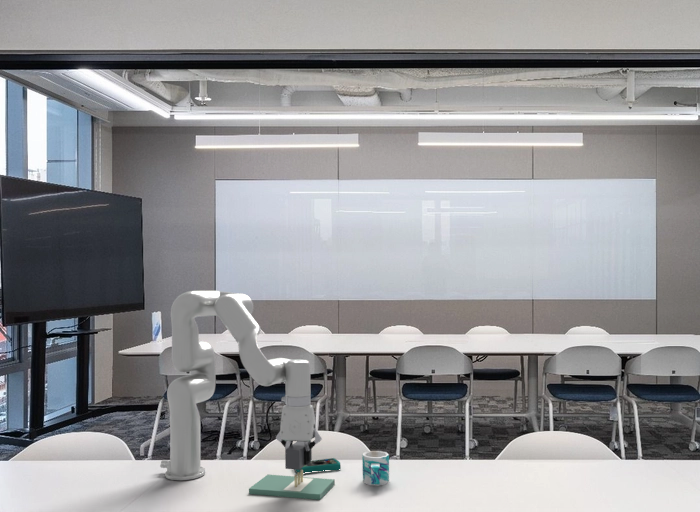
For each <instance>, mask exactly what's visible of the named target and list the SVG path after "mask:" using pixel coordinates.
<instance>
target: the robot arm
mask: <svg viewBox="0 0 700 512" xmlns="http://www.w3.org/2000/svg"><path fill="white" fill-rule="evenodd" d="M253 312H254V302H253V300H252V298H250V296H249V295H247V294H245V293H240V292H239V293H237V292H229V291H222V290H188V291H186V292H183V293H181V294H179V295H178V296H177V297H176V298H175V299H174V300H173V302H172V305H171V308H170V320H171V363H172V368H173V369H174V370H175V371H176V372H178V373H190V374H189V375H188V374H187V375H183V376H181V377H177V378H175V379H173V380H172V381H171V382H170V384H169V385H168V387H167V390H166V391H167V392H166V396H167V397H166V399H167V402H168V408H169V409H168V410H169V425H170V426H169V427H170V429H169V431H170V433H169V436H170V438H169V439H170V441H169V445H170V446H169V447H170V449H169V450H170V451H169V460H167V459H162V460H161V462H160V465H159V467H160V468H161V469H162V468H163V469H165V468H166V471H165V473H164V476H165V478H166V479H168V480H172V481H189V480H194V479H199V478H201V477H203V476H204V475H205V474H206V468H204V467H202V466H201V414H200V411H199V409H198V406H197V404H198V403H203V402H205V401H208V400H209V399H211V397H213V395H214V393H215V391H216V354H215V351H214V348H213V347H212V345H211V344H210V343H209V342H208V341H205V340H199V339H200V338H199V334H200V332H199V326H198V323H197V321H196V318H198V317H199V318H200V317H211V316H213V317H214V316H215V317H218V318H219V320H221V322H222V324H223V325H224V326H225V328H226V329H227V330H228V332H229V333H230V335H231V336H232V337H233V338H234V339H235V341H236V343H237V344H238V345H237V347H238V355H239V358H240V362H241V364H242V366H243V368H244V369H245V370H246V371H247V373H248V374H249V375H250V377H251V378H252V379H253V380H254V382H256V383H257V384H258V385H260V386H263V387H270V386H272V385H276V384H280V383H285V395H284V396H282V397H281V402H284V405H283V406H282V409H281V417H280V426H279V427H280V429H279V432H278V433H277V435H276V436H275V440H277V441H278V442H279V443H280V444H281V445H282V446H283V447H284V449H287V448H288V447H290V446H291V445H293V444H294V442H297V441H302V442H304V445H305V451H304V464H305V465H307V464H308V463H309V462H310V461H312V460H311V449H313V448H314V447H315V446H316V445H317V444H318V443H320V442H321V441H322V440H323V439H322V436H320V435H321V434H319V432H318V431H317V425H316V416H315V409H314V405H312V404H311V403H312V402H311V401H312V400H311V389H312V388H311V363H310V361H309V360H308V359H303V358H302V359H300V358H299V359H298V358H297V359H290V358H286V357H285V358H284V357H277V358H276V357H275V358H270V359H267V357H266V356H265V354H264V353H263V352H262V350H261V348H260V347H259V344H258V337H259V335H260V333H261V330H262V329H261V326H260V325H259V324H258V322H257V320H255V318H254V316H252V314H253ZM313 439H314V440H313Z"/></svg>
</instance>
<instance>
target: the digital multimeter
mask: <svg viewBox="0 0 700 512" xmlns="http://www.w3.org/2000/svg"><path fill="white" fill-rule="evenodd" d="M339 469H341V462H340V461H339V460H337V459H336V458H335V457H333V458H332V457H331V458H323V459H313V460H311V461H310V462H309V463H308V464H307V465H305V466H304V467H302V468H301V469H300V470H303V473H305V472H312V471H323V470H324V471H325V470H339ZM294 470H296V469H294ZM300 470H296V471H297V472H300ZM296 471H295V472H296ZM339 471H340V470H339ZM297 472H296V473H297Z"/></svg>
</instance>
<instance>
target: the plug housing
mask: <svg viewBox="0 0 700 512" xmlns="http://www.w3.org/2000/svg"><path fill="white" fill-rule="evenodd" d="M284 449H285V448H284ZM312 449H313V448H312ZM312 449H311V461H312V458H313V456H312V455H313V454H312V453H313V452H312V451H313V450H312ZM284 451H285V455H284V457H285V459H284V460H285V461H284V462H285V467H284V468H285V469H286V470H295V469H296V470H300V469H301V468H302V467H304V466H305V464H304V451H305V445H304V442H302V441H295V442H293V444H292V445H291V446H290V447H288V448H287V449H285V450H284Z"/></svg>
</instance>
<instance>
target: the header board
mask: <svg viewBox="0 0 700 512" xmlns="http://www.w3.org/2000/svg"><path fill="white" fill-rule="evenodd" d="M296 473H297V474H294V476H291V475H281V474H280V475H279V474H267V475H265V476H264V477H262V478H261V479H260V480H258V481H257V482H256V483H255V484H253V485H252V486H250V487H248V494H249V495H258V496H269V497H271V496H272V497H280V498H281V497H284V498H295V499H296V498H297V499H303V500H305V499H306V500H307V499H308V500H316V501H318V500H319V501H320V500H322V498H323V497H324V496H325V495H326V494H328V492H329V491H330V490H331V489H332V488H333V487H334V486H335V483H336V482H335V479H334V478H333V479H332V478H323V477H322V478H319V477H307V476H306V477H304V474H303V470H300V472H296Z"/></svg>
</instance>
